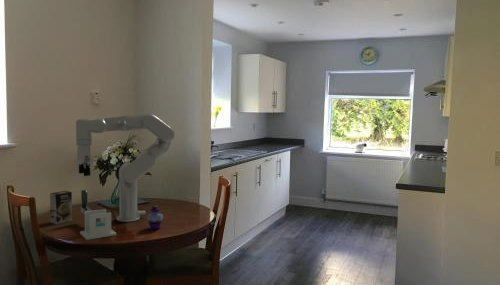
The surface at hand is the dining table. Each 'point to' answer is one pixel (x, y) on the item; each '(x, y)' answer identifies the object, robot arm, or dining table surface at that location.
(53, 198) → the coffee box
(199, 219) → the dining table surface
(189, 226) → the dining table surface
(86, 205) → the shaft
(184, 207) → the dining table surface
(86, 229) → the bearing block
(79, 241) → the dining table surface
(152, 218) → the potion bottle
